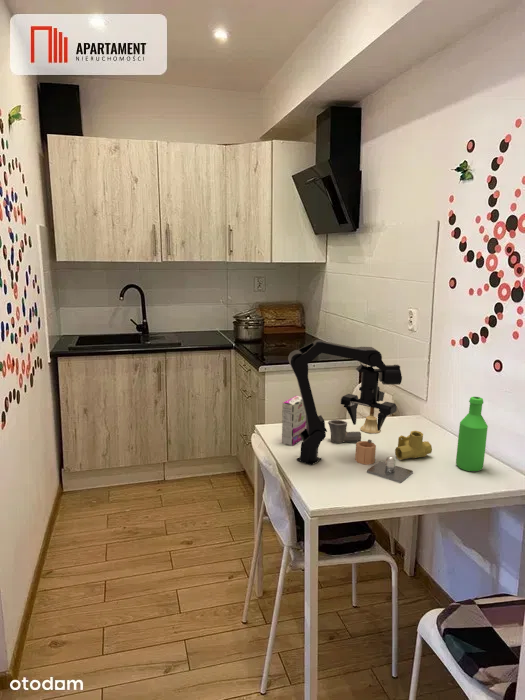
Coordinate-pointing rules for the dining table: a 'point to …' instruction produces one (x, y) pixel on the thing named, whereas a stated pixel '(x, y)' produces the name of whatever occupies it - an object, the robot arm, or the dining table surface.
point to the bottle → (472, 438)
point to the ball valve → (412, 446)
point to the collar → (365, 452)
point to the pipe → (342, 432)
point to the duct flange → (390, 470)
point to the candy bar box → (293, 420)
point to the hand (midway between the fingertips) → (366, 427)
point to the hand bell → (370, 423)
